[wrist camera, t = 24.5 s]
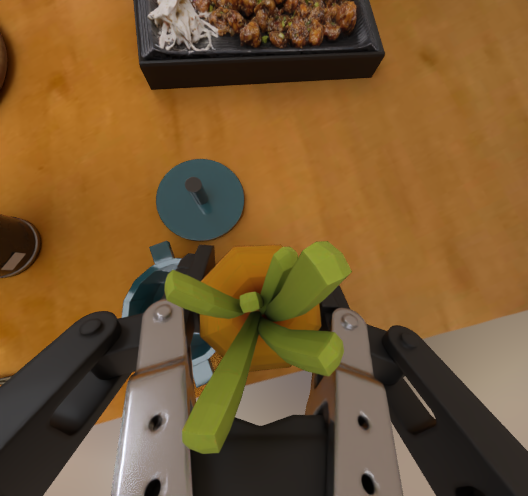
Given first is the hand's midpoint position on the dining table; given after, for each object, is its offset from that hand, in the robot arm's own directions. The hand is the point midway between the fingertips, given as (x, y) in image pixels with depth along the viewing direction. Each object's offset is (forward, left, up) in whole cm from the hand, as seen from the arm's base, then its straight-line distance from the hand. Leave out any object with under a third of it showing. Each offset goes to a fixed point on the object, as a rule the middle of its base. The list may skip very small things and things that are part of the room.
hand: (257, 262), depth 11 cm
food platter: (+20, +46, -23) cm, 55 cm away
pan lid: (-3, +15, -22) cm, 27 cm away
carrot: (-1, -2, -7) cm, 8 cm away
